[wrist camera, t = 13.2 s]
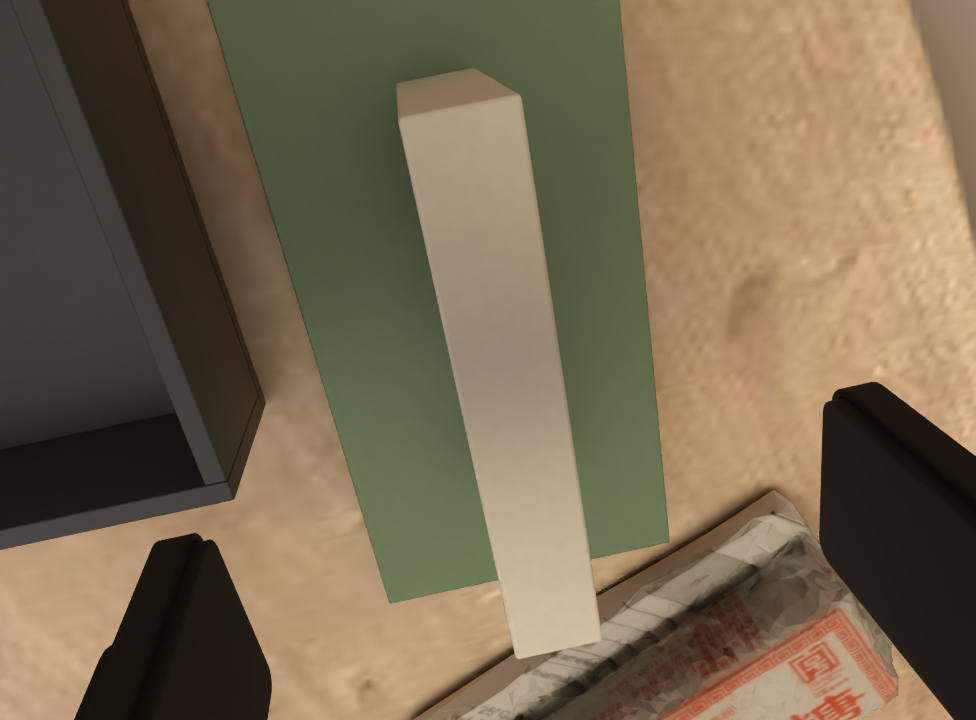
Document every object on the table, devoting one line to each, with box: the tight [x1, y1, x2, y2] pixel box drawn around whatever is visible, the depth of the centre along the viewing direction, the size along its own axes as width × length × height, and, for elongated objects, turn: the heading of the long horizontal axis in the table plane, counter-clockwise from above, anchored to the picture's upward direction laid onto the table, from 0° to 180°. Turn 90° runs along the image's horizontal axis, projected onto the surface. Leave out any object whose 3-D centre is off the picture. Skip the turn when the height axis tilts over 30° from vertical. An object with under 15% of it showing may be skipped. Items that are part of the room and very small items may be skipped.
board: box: [396, 68, 602, 659], centre depth 19 cm, size 13×2×8 cm, turn 10°
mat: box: [207, 0, 669, 603], centre depth 24 cm, size 22×10×1 cm, turn 10°
